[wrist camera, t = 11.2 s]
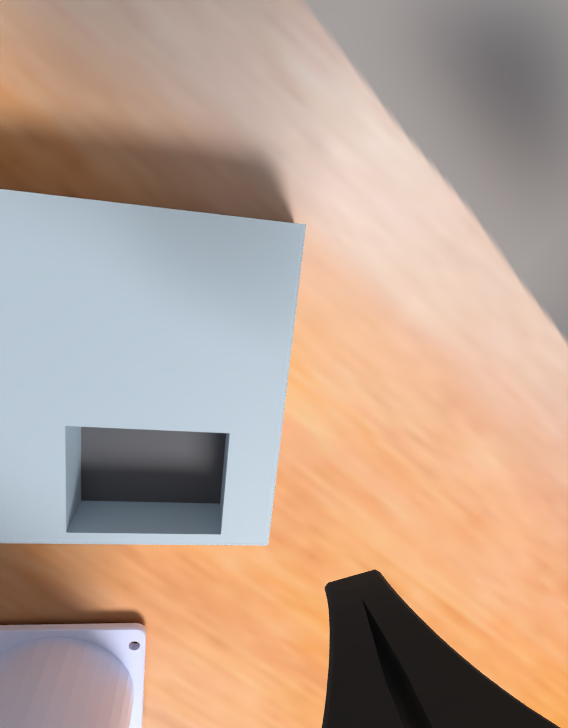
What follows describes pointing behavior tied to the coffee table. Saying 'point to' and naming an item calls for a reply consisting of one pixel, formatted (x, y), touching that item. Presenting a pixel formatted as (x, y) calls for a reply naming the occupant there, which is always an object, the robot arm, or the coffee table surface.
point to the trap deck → (141, 371)
